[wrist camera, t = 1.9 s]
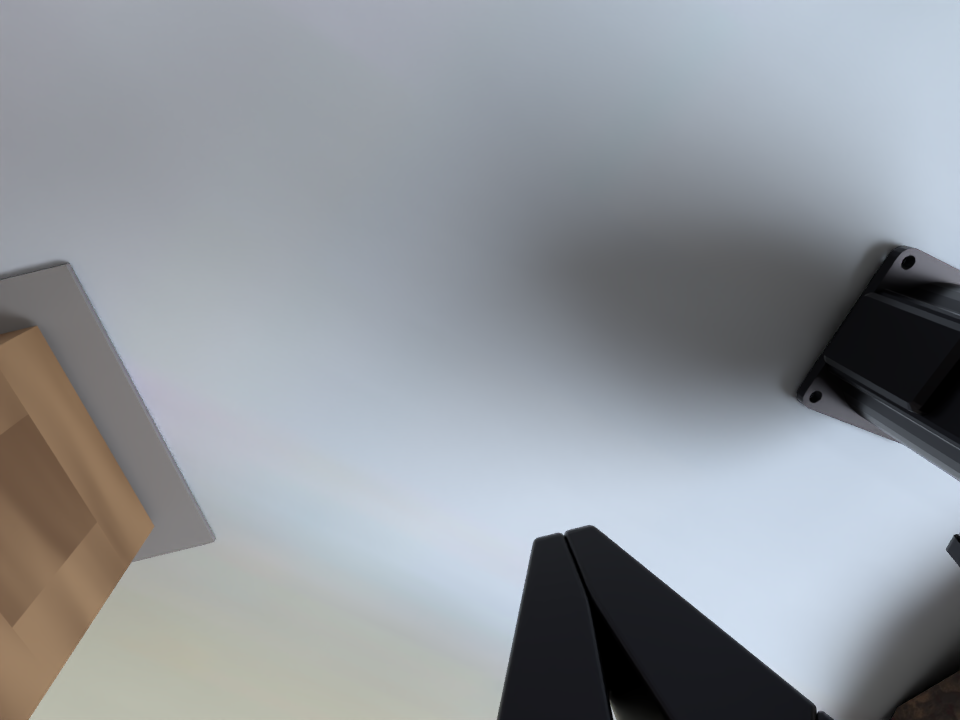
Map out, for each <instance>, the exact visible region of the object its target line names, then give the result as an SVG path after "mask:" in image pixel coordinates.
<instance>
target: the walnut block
mask: <svg viewBox="0 0 960 720" xmlns="http://www.w3.org/2000/svg"><path fill="white" fill-rule="evenodd" d="M153 528H154V525H153V523H152V521H151V519H150V518H149V516H148V514H147V513H146V511H145V509H144V507H143V506H142V504H141V502H140V501H139V499H138V497H137V495H136V494H135V492H134V490H133V489H132V487H131V485H130V484H129V482H128V480H127V478H126V477H125V475H124V473H123V472H122V470H121V468H120V466H119V465H118V463H117V461H116V460H115V458H114V456H113V454H112V453H111V451H110V449H109V448H108V446H107V444H106V442H105V441H104V439H103V437H102V436H101V434H100V432H99V430H98V429H97V427H96V425H95V424H94V422H93V420H92V418H91V417H90V415H89V413H88V412H87V410H86V408H85V406H84V405H83V403H82V401H81V400H80V398H79V396H78V394H77V393H76V391H75V389H74V388H73V386H72V384H71V383H70V381H69V379H68V377H67V376H66V374H65V372H64V371H63V369H62V367H61V365H60V364H59V362H58V360H57V359H56V357H55V355H54V353H53V352H52V350H51V348H50V347H49V345H48V343H47V341H46V340H45V338H44V336H43V335H42V333H41V331H40V329H39V328H38V326H33V327H29V328H25V329H20V330H16V331H12V332H8V333H4V334H0V720H29V718H30V717H31V715H32V714H33V712H34V710H35V709H36V707H37V706H38V704H39V703H40V701H41V700H42V698H43V697H44V695H45V694H46V692H47V691H48V689H49V687H50V686H51V684H52V683H53V681H54V680H55V678H56V677H57V675H58V674H59V672H60V671H61V669H62V668H63V666H64V664H65V663H66V661H67V660H68V658H69V657H70V655H71V654H72V652H73V651H74V649H75V648H76V646H77V645H78V643H79V641H80V640H81V638H82V637H83V635H84V634H85V632H86V631H87V629H88V628H89V626H90V625H91V623H92V622H93V620H94V618H95V617H96V615H97V614H98V612H99V611H100V609H101V608H102V606H103V605H104V603H105V602H106V600H107V599H108V597H109V595H110V594H111V592H112V591H113V589H114V588H115V586H116V585H117V583H118V582H119V580H120V579H121V577H122V576H123V574H124V572H125V571H126V569H127V568H128V566H129V565H130V563H131V562H132V560H133V559H134V557H135V556H136V554H137V553H138V551H139V549H140V548H141V546H142V545H143V543H144V542H145V540H146V539H147V537H148V536H149V534H150V533H151V531H152V530H153Z"/></svg>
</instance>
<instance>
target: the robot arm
mask: <svg viewBox="0 0 960 720" xmlns="http://www.w3.org/2000/svg"><path fill="white" fill-rule="evenodd" d="M905 257H906V260H905V263H904V264H903V265H902V266H901V263H902V261H903V259H904V258H905ZM813 392H815V393H814V395H813V396H812V397H810V395H811V394H812V393H813ZM796 397H797V400H798V401H799V402H800V403H802V404H803V405H804V406H806V407H807V408H809V409H812V410H815V411H817V412H820V413H822V414H825V415H828V416H830V417H833V418H835V419H838V420H841V421H843V422H846V423H849V424H851V425H854V426H856V427H859V428H862V429H864V430H867V431H869V432H872V433H875V434H877V435H880V436H882V437H885V438H888V439H890V440H893V441H896V442H898V443H901V444H903V445H905V446H907V447H908V448H910V449H911V450H913V451H914V452H916V453H917V454H919V455H920V456H922V457H923V458H925V459H926V460H928V461H929V462H931V463H932V464H934V465H935V466H937V467H938V468H940V469H942V470H943V471H945V472H946V473H948V474H949V475H951V476H952V477H954V478H955V479H957V480H958V481H960V270H958V269H956V268H954V267H952V266H950V265H948V264H946V263H944V262H942V261H940V260H939V259H937V258H935V257H933V256H931V255H929V254H927V253H925V252H923V251H921V250H919V249H916V248H912V247H907V246H900V247H897V248H895V249H894V250H893V251H892V252H891V253H890V254H889V255H888V256H887V258H886V259H885V261H884V262H883V264H882V265H881V267H880V268H879V270H878V271H877V273H876V274H875V276H874V277H873V279H872V280H871V282H870V283H869V285H868V286H867V288H866V289H865V291H864V292H863V294H862V295H861V297H860V298H859V300H858V301H857V302H856V304H855V305H854V307H853V308H852V310H851V311H850V313H849V314H848V316H847V317H846V319H845V320H844V322H843V323H842V325H841V326H840V328H839V329H838V331H837V332H836V334H835V335H834V337H833V338H832V340H831V341H830V343H829V344H828V346H827V347H826V348H825V350H824V351H823V353H822V354H821V356H820V357H819V359H818V360H817V362H816V363H815V365H814V366H813V368H812V369H811V371H810V372H809V374H808V375H807V377H806V378H805V380H804V381H803V383H802V384H801V386H800V387H799V389H798V391H797V395H796ZM809 397H810V398H809ZM946 550H947V552H948V553H949V554H950V556H951V557H952V558H953V559H954V560H955V562H956V563H957V564H958V565H959V567H960V534H955V535H954V536H953V538H952V540H951V541H950V543H949V545H948V546H947V548H946ZM610 704H611V705H610ZM611 707H612V709H613V712H614V714H615V717H616V719H617V720H834V719H832V718H831V717H830V716H829V715H827V714H826V713H825V712H823V711H819V712H818V713H817V710H816V706H815V705H814V704H813V703H812V702H811V701H810V700H808V699H807V698H806V697H805V696H803V695H802V694H801V693H800V692H799V691H797V690H796V689H795V688H794V687H792V686H791V685H790V684H789V683H787V682H786V681H785V680H784V679H782V678H781V677H780V676H779V675H778V674H776V673H775V672H774V671H773V670H771V669H770V668H769V667H768V666H766V665H765V664H764V663H763V662H761V661H760V660H759V659H758V658H757V657H755V656H754V655H753V654H752V653H750V652H749V651H748V650H747V649H745V648H744V647H743V646H742V645H740V644H739V643H738V642H737V641H736V640H734V639H733V638H732V637H731V636H729V635H728V634H727V633H726V632H724V631H723V630H722V629H721V628H719V627H718V626H717V625H716V624H715V623H713V622H712V621H711V620H710V619H708V618H707V617H706V616H705V615H703V614H702V613H701V612H700V611H698V610H697V609H696V608H695V607H694V606H692V605H691V604H690V603H689V602H687V601H686V600H685V599H684V598H682V597H681V596H680V595H679V594H677V593H676V592H675V591H674V590H673V589H671V588H670V587H669V586H668V585H666V584H665V583H664V582H663V581H661V580H660V579H659V578H658V577H656V576H655V575H654V574H653V573H652V572H650V571H649V570H648V569H647V568H645V567H644V566H643V565H642V564H640V563H639V562H638V561H637V560H635V559H634V558H633V557H632V556H630V555H629V554H628V553H627V552H626V551H624V550H623V549H622V548H621V547H619V546H618V545H617V544H616V543H614V542H613V541H612V540H611V539H609V538H608V537H607V536H606V535H605V534H603V533H602V532H601V531H600V530H598V529H597V528H596V527H594V526H592V525H587V526H583V527H579V528H575V529H571V530H568V531H566V532H565V534H564V535H563V534H562V533H555V534H551V535H547V536H543V537H539V538H536V539H535V540H534V542H533V545H532V550H531V555H530V560H529V565H528V570H527V575H526V579H525V584H524V589H523V594H522V599H521V604H520V609H519V614H518V619H517V624H516V628H515V633H514V638H513V643H512V648H511V653H510V658H509V663H508V668H507V673H506V678H505V682H504V687H503V692H502V697H501V702H500V707H499V712H498V717H497V720H613V716H612V710H611Z"/></svg>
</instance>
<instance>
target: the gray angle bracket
mask: <svg viewBox="0 0 960 720" xmlns="http://www.w3.org/2000/svg"><path fill="white" fill-rule="evenodd" d="M33 326H38V328H39V329H40V331H41V333H42V335H43V336H44V338H45V340H46V341H47V343H48V345H49V347H50V348H51V350H52V352H53V353H54V355H55V357H56V359H57V360H58V362H59V364H60V365H61V367H62V369H63V371H64V372H65V374H66V376H67V377H68V379H69V381H70V383H71V384H72V386H73V388H74V389H75V391H76V393H77V394H78V396H79V398H80V400H81V401H82V403H83V405H84V406H85V408H86V410H87V412H88V413H89V415H90V417H91V418H92V420H93V422H94V424H95V425H96V427H97V429H98V430H99V432H100V434H101V436H102V437H103V439H104V441H105V442H106V444H107V446H108V448H109V449H110V451H111V453H112V454H113V456H114V458H115V460H116V461H117V463H118V465H119V466H120V468H121V470H122V472H123V473H124V475H125V477H126V478H127V480H128V482H129V484H130V485H131V487H132V489H133V490H134V492H135V494H136V495H137V497H138V499H139V501H140V502H141V504H142V506H143V507H144V509H145V511H146V513H147V514H148V516H149V518H150V519H151V521H152V523H153V525H154V528H153V530H152V531H151V533H150V534H149V536H148V537H147V539H146V540H145V542H144V543H143V545H142V546H141V548H140V549H139V551H138V553H137V554H136V556H135V557H134V559H133V560H132V562H135V561H139V560H143V559H147V558H151V557H155V556H159V555H163V554H167V553H171V552H176V551H180V550H184V549H188V548H192V547H196V546H200V545H204V544H208V543H212V542H214V541H215V539H216V538H215V536H214V534H213V532H212V530H211V528H210V526H209V524H208V523H207V521H206V519H205V517H204V515H203V513H202V511H201V509H200V508H199V506H198V504H197V502H196V500H195V498H194V496H193V494H192V492H191V491H190V489H189V487H188V485H187V483H186V481H185V479H184V477H183V476H182V474H181V472H180V470H179V468H178V466H177V464H176V462H175V461H174V459H173V457H172V455H171V453H170V451H169V449H168V447H167V445H166V444H165V442H164V440H163V438H162V436H161V434H160V432H159V430H158V429H157V427H156V425H155V423H154V421H153V419H152V417H151V415H150V414H149V412H148V410H147V408H146V406H145V404H144V402H143V400H142V398H141V397H140V395H139V393H138V391H137V389H136V387H135V385H134V383H133V382H132V380H131V378H130V376H129V374H128V372H127V370H126V368H125V367H124V365H123V363H122V361H121V359H120V357H119V355H118V353H117V351H116V350H115V348H114V346H113V344H112V342H111V340H110V338H109V336H108V335H107V333H106V331H105V329H104V327H103V325H102V323H101V321H100V320H99V318H98V316H97V314H96V312H95V310H94V308H93V306H92V304H91V303H90V301H89V299H88V297H87V295H86V293H85V291H84V289H83V288H82V286H81V284H80V282H79V280H78V278H77V276H76V274H75V273H74V271H73V269H72V267H71V265H70V263H68V264H64V265H60V266H56V267H52V268H47V269H43V270H39V271H35V272H31V273H26V274H22V275H18V276H14V277H10V278H5V279H1V280H0V334H4V333H8V332H12V331H16V330H20V329H25V328H29V327H33Z"/></svg>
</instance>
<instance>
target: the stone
mask: <svg viewBox="0 0 960 720" xmlns="http://www.w3.org/2000/svg"><path fill="white" fill-rule="evenodd" d="M891 720H960V671H958V672H956V673H954V674H953V675H951V676H949V677H948V678H946V679H944V680H943V681H941V682H939V683H938V684H936V685H934V686H933V687H931V688H929V689H927V690H926V691H924V692H922V693H921V694H919V695H917V696H916V697H914V698H912V699H911V700H909V701H907V702H906V703H904V704H902V705H900V706H899V707H897V708H896V711H895V713H894V715H893V717H892V719H891Z"/></svg>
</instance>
